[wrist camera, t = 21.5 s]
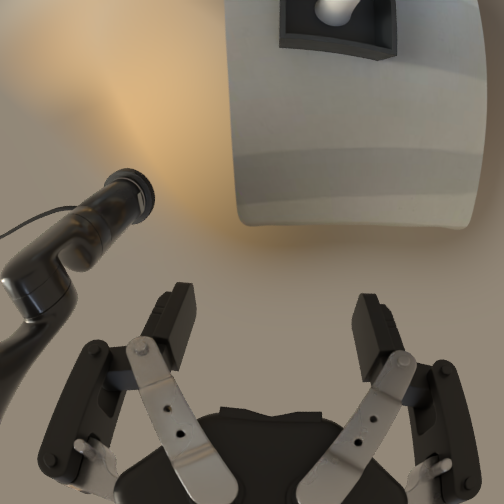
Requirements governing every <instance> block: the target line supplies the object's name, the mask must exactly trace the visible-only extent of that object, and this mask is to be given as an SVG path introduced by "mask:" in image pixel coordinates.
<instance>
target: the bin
mask: <svg viewBox="0 0 504 504" xmlns="http://www.w3.org/2000/svg"><path fill="white" fill-rule="evenodd" d="M317 1H318V0H280V33H279V48H293V49H305V50H315V51H324V52H332V53H339V54H345V55H351V56H357V57H362V58H367V59H372V60H376V61H379V60H382V59H386V58H390V57H394V56H397V21H396V2H395V0H360V1H359V3H358V4H357V6H356V7H355V8H354V10H353V12H352V14H351V18H350V20H349V21H348V22H347V23H346V24H344V25H342V26H330V25H327V24H325V23H323V22H322V21H321V20H320V19H319V18H318V17H317V16H316V13H315V4H316V2H317Z"/></svg>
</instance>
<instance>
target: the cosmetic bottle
mask: <svg viewBox="0 0 504 504" xmlns="http://www.w3.org/2000/svg"><path fill="white" fill-rule="evenodd" d="M359 1H360V0H318V1H317V2H316V4H315V13H316V16H317V17H318V18H319V19H320V20H321V21H322V22H323V23H325V24H327V25H330V26H342V25H344V24H346V23H347V22H348V21H349V20H350V18H351V14H352V12H353V10H354V8H355V7H356V6H357V4H358V3H359Z"/></svg>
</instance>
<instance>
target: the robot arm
mask: <svg viewBox="0 0 504 504" xmlns="http://www.w3.org/2000/svg"><path fill="white" fill-rule="evenodd" d="M145 207H146V196H145V193H144V191H143V189H142V187H141V186H140V185H139V184H138V183H137V182H136V181H135V180H133V179H131V178H128V177H119V178H117V179H115V180H113V181H112V182H111V183H110V184H108V185H106V186H105V187H103V188H102V189H101V190H99V191H97V192H96V193H95V194H93V195H92V196H90V197H89V198H88V199H86V200H85V201H84V202H82V203H81V204H80V205H79V206H63V207H58V208H55V209H52V210H50V211H47V212H44V213H42V214H40V215H37V216H35V217H33V218H31V219H29V220H27V221H25V222H23V223H22V224H20V225H18V226H17V227H15V228H13V229H12V230H10V231H8V232H7V233H5V234H3V235H1V236H0V239H1V238H3V237H5V236H7V235H9V234H11V233H12V232H14V231H16V230H17V229H19V228H21V227H23V226H24V225H26V224H28V223H30V222H32V221H34V220H37V219H39V218H42V217H44V216H47V215H50V214H52V213H55V212H59V211H64V210H72V211H71V212H70V213H68V214H67V215H66V216H64V217H63V218H62V219H61V220H59V221H58V222H57V223H55V224H54V225H53V226H51V227H50V228H49V229H48V230H46V231H45V232H44V233H43V234H42V235H40V236H39V237H38V238H37V239H35V240H34V241H33V242H32V243H30V244H29V245H27V246H26V247H25V248H24V249H22V250H21V251H20V252H18V253H17V254H16V255H15V256H14V257H13V258H12V259H11V260H10V261H9V262H8V263H7V264H6V265H5V267H4V268H3V270H2V273H1V278H0V279H1V283H2V285H3V287H4V289H5V290H6V292H7V293H8V295H9V297H10V298H11V300H12V301H13V303H14V304H15V306H16V307H17V309H18V310H19V312H20V313H21V315H22V316H23V317H24V321H23V323H22V324H21V326H20V327H19V328H18V329H17V331H16V332H14V333H13V334H12V335H11V336H10V337H9V338H8V339H6V340H4V341H2V342H0V423H1V421H2V418H3V416H4V414H5V411H6V410H7V408H8V405H9V403H10V401H11V400H12V398H13V396H14V394H15V392H16V390H17V389H18V387H19V385H20V383H21V382H22V380H23V378H24V377H25V375H26V373H27V372H28V370H29V369H30V367H31V366H32V365H33V363H34V362H35V361H36V359H37V358H38V357H39V355H40V354H41V353H42V352H43V350H44V349H45V348H46V346H47V345H48V344H49V343H50V341H51V340H52V339H53V337H54V336H55V335H56V334H57V333H58V331H59V330H60V329H61V328H62V326H63V325H64V324H65V323H66V321H67V320H68V318H69V317H70V316H71V314H72V312H73V311H74V309H75V307H76V304H77V301H78V294H77V292H76V289H75V287H74V285H73V283H72V281H71V279H70V278H69V276H68V274H67V272H66V270H65V268H64V266H65V267H67V268H68V269H71V270H73V271H76V272H86V271H88V270H90V269H91V268H92V267H93V266H94V265H95V264H96V263H97V262H98V260H100V258H101V257H102V256H103V255H104V254H105V252H106V251H107V250H108V249H109V248H110V247H111V245H112V244H113V243H114V242H115V241H116V240H117V239H118V238H119V237H120V236H121V235H122V234H123V233H124V232H125V230H126V229H127V228H128V227H129V226H130V225H131V224H132V223H133V222H134V221H135V220H136V219H137V218H138V217H139V216H140V215H141V214H142V213H143V212H144V210H145ZM62 264H63V265H64V266H63V265H62ZM195 318H196V301H195V294H194V287H193V284H192V283H183V282H177V283H176V284H175V287H174V289H173V291H172V292H165V293H164V294H163V295H162V296H161V297H159V298H158V300H157V302H156V305H155V307H154V309H153V311H152V313H151V315H150V317H149V319H148V321H147V323H146V325H145V327H144V329H143V331H142V333H141V335H140V336H139V337H137V338H134V339H132V340H131V341H130V342H129V343H128V345H127V346H122V347H111V348H110V347H109V346H108V344H107V343H106V342H104V341H102V340H93V341H90V342H88V343H87V344H86V345H85V346H84V347H83V349H82V351H81V353H80V355H79V357H78V359H77V361H76V363H75V365H74V367H73V370H72V371H71V374H70V376H69V378H68V380H67V383H66V384H65V387H64V389H63V391H62V394H61V396H60V398H59V401H58V403H57V405H56V408H55V410H54V413H53V415H52V418H51V420H50V423H49V425H48V428H47V431H46V433H45V436H44V439H43V442H42V445H41V447H40V450H39V454H38V458H37V460H38V465H39V467H40V469H41V471H42V472H43V473H44V474H45V475H47V476H49V477H51V478H52V479H55V480H56V481H57V482H59V483H61V484H63V485H65V486H67V487H69V488H71V489H74V490H78V491H80V492H83V493H85V494H94V495H97V496H100V497H102V498H105V499H108V500H111V501H114V502H115V504H459V503H462V502H464V501H467V500H469V499H472V498H473V497H474V496H475V495H476V494H477V493H478V492H479V490H480V488H481V484H482V478H481V470H480V463H479V457H478V451H477V446H476V441H475V436H474V431H473V427H472V423H471V418H470V414H469V410H468V406H467V403H466V399H465V396H464V392H463V389H462V386H461V383H460V379H459V376H458V373H457V370H456V368H455V366H454V365H453V364H452V363H451V362H449V361H447V360H438V361H436V362H435V363H434V364H433V366H430V365H425V364H420V363H417V362H416V360H415V358H414V357H413V356H412V355H411V354H410V353H408V352H406V351H405V349H404V346H403V343H402V340H401V337H400V335H399V332H398V329H397V328H396V324H395V321H394V318H393V315H392V313H391V311H390V310H389V309H388V308H387V307H386V305H385V304H380V303H379V301H378V298H377V296H376V294H364V293H361V294H360V295H359V298H358V301H357V304H356V307H355V310H354V313H353V317H352V331H353V335H354V340H355V345H356V350H357V354H358V360H359V365H360V370H361V376H362V380H363V382H371V388H370V389H369V391H368V393H367V394H366V396H365V397H364V399H363V400H362V402H361V403H360V405H359V406H358V408H357V409H356V411H355V412H354V414H353V415H352V417H351V418H350V419H349V421H348V422H347V424H346V425H345V426H344V428H343V427H341V426H340V425H338V424H337V423H335V422H333V421H330V420H327V419H324V418H322V412H294V413H289V414H284V415H279V416H273V417H271V416H267V415H263V414H259V413H256V412H253V411H250V410H246V409H239V408H229V407H220V412H219V413H213V414H209V415H206V416H203V417H201V418H199V419H196V418H195V416H194V414H193V412H192V411H191V409H190V407H189V405H188V404H187V402H186V400H185V398H184V396H183V394H182V392H181V391H180V389H179V387H178V385H177V383H176V381H175V379H174V377H173V376H172V375H171V374H170V373H171V370H174V371H179V368H180V365H181V362H182V359H183V356H184V353H185V349H186V346H187V343H188V340H189V337H190V334H191V331H192V328H193V324H194V322H195ZM127 390H139V393H140V396H141V398H142V401H143V403H144V406H145V408H146V410H147V413H148V415H149V417H150V419H151V422H152V424H153V426H154V428H155V431H156V433H157V435H158V437H159V439H160V441H161V443H162V446H160V447H159V448H158V449H156V450H155V451H153V452H152V453H151V454H149V455H148V456H146V457H145V458H144V459H142V460H141V461H139V462H138V463H136V464H135V465H133V466H132V467H130V468H129V469H127V470H126V471H125V472H123V473H122V474H121V475H120V476H119V475H118V473H117V471H116V457H115V455H114V453H113V452H112V451H111V450H110V449H109V447H110V444H111V440H112V437H113V433H114V429H115V426H116V423H117V420H118V416H119V413H120V410H121V406H122V404H123V400H124V397H125V394H126V391H127ZM402 405H404V406H408V411H409V417H410V424H411V431H412V438H413V447H414V457H415V467H414V468H413V469H412V470H411V471H410V473H409V475H408V481H407V486H406V488H405V489H404V488H403V487H402V486H401V485H400V484H399V483H398V482H397V481H396V480H395V479H394V478H393V477H392V476H391V475H390V474H389V473H388V472H387V471H386V470H385V469H383V467H382V466H381V465H380V464H379V463H378V462H377V461H376V460H375V459H374V458H373V455H374V454H375V452H376V450H377V449H378V447H379V446H380V444H381V442H382V441H383V439H384V437H385V436H386V434H387V432H388V430H389V428H390V426H391V424H392V423H393V421H394V419H395V418H396V416H397V414H398V412H399V410H400V408H401V406H402Z"/></svg>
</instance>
